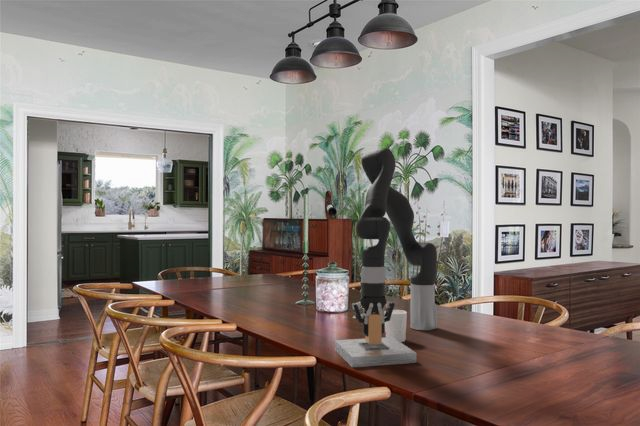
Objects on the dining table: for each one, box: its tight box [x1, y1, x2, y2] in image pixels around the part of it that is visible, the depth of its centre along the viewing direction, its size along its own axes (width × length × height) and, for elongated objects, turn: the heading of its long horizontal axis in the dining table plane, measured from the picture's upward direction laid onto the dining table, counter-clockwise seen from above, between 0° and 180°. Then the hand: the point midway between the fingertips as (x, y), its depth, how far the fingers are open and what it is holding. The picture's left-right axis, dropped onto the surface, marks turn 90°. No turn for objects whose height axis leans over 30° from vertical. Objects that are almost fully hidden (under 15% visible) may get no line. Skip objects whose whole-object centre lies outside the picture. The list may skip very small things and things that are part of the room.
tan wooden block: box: [364, 313, 383, 344], centre depth 159 cm, size 4×4×9 cm
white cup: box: [383, 309, 408, 343], centre depth 179 cm, size 8×8×10 cm
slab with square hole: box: [334, 336, 417, 368], centre depth 159 cm, size 20×20×3 cm
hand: (373, 335), depth 159 cm, fingers closed on tan wooden block, 4 cm apart
